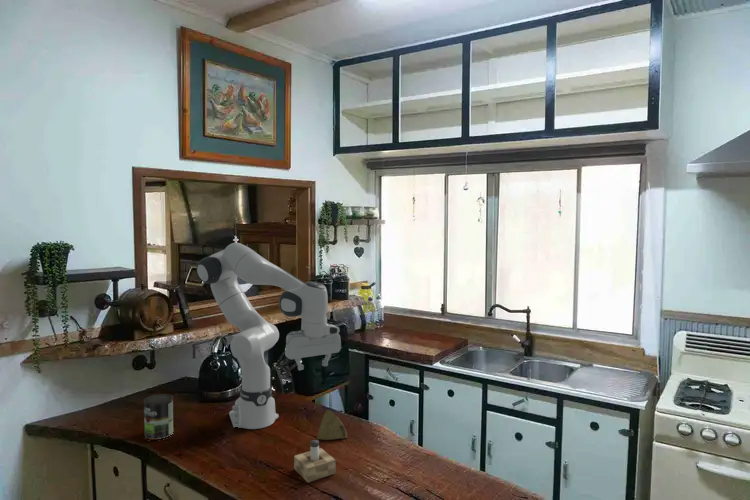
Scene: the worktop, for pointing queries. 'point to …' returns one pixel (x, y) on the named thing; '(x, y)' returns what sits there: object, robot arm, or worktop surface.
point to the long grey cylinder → (314, 450)
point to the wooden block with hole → (314, 465)
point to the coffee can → (158, 416)
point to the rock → (331, 427)
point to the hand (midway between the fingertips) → (312, 367)
